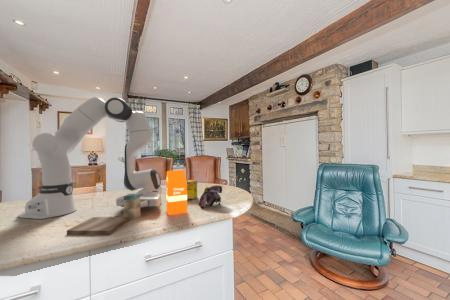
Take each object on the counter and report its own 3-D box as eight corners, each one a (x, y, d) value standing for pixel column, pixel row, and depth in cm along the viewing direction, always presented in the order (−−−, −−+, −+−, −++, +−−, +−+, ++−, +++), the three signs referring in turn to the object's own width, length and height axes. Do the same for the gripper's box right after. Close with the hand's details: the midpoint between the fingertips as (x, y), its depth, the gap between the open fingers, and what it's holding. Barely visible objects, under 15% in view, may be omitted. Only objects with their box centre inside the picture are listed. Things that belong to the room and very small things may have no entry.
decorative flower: (198, 184, 116) (223, 177, 113) (206, 202, 119) (230, 195, 116) (191, 198, 102) (219, 190, 99) (200, 217, 105) (227, 210, 102)
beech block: (124, 219, 90) (123, 196, 90) (129, 215, 95) (129, 193, 95) (135, 219, 90) (134, 196, 90) (140, 215, 95) (139, 193, 95)
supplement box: (194, 200, 120) (193, 181, 120) (184, 199, 121) (184, 181, 121) (197, 197, 126) (197, 179, 126) (188, 197, 127) (188, 179, 127)
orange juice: (166, 210, 102) (165, 170, 101) (184, 208, 105) (183, 169, 105) (168, 215, 94) (167, 171, 94) (187, 212, 98) (186, 170, 98)
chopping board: (66, 234, 75) (66, 230, 75) (93, 220, 89) (93, 217, 89) (109, 234, 74) (109, 230, 74) (129, 220, 88) (129, 217, 88)
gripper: (124, 191, 106) (108, 198, 92) (163, 191, 105) (153, 198, 91) (125, 203, 106) (108, 212, 92) (164, 203, 105) (153, 212, 91)
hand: (131, 205), depth 92 cm, fingers open, 6 cm apart
